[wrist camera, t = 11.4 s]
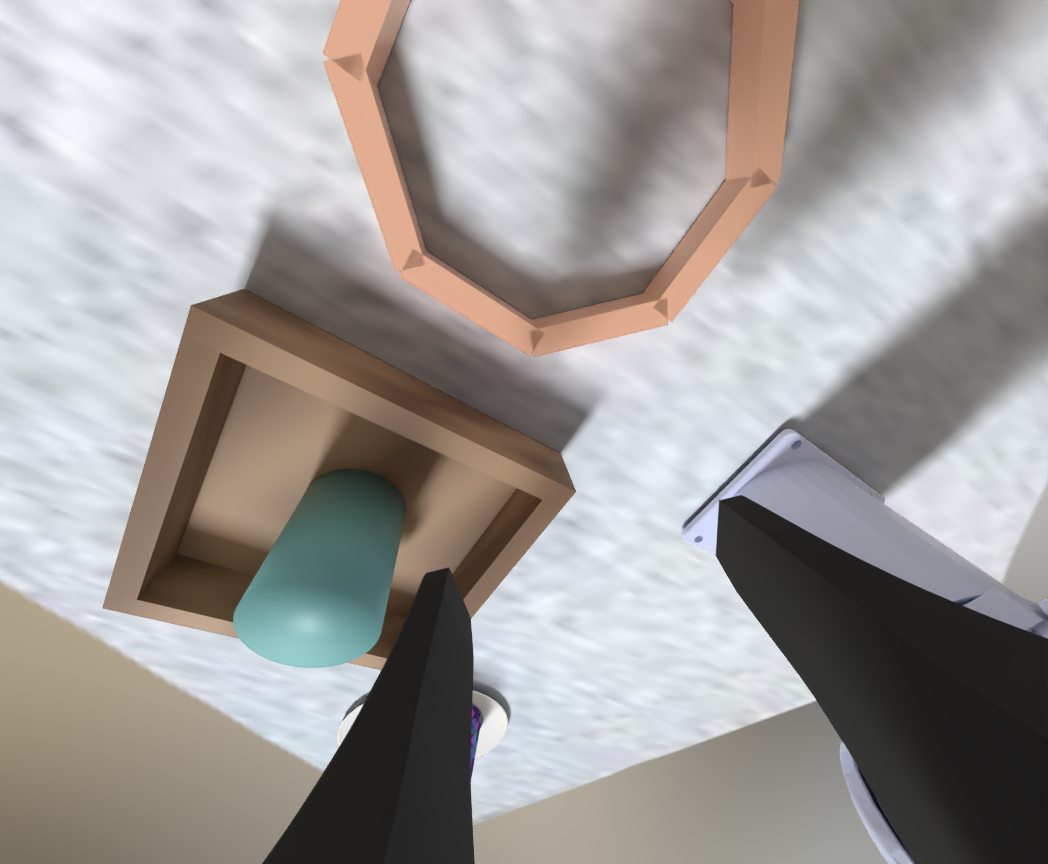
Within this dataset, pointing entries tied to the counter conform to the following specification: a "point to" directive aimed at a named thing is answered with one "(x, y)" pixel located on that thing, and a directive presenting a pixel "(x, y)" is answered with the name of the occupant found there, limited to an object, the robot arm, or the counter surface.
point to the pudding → (480, 738)
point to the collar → (751, 171)
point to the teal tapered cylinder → (326, 574)
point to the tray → (316, 470)
